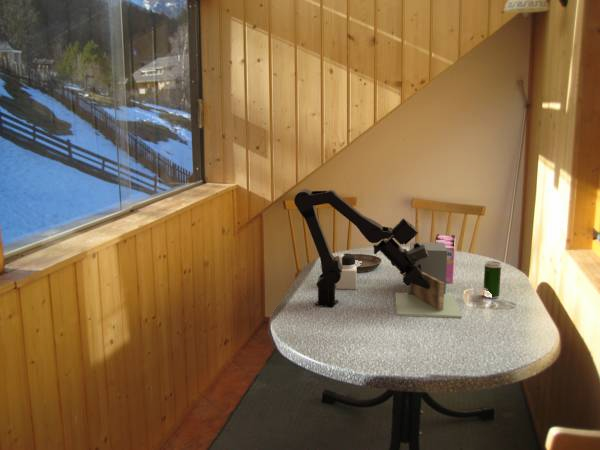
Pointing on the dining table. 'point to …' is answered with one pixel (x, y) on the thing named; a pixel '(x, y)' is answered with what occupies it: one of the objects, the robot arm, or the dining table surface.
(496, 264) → the beer can
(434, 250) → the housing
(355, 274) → the medicine bottle
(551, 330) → the dining table surface
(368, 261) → the plant saucer
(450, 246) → the gum box
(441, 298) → the brown wooden flat panel
